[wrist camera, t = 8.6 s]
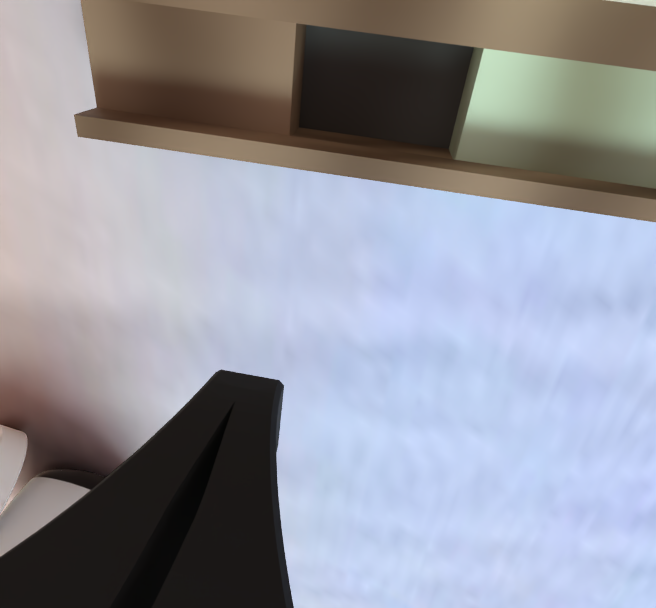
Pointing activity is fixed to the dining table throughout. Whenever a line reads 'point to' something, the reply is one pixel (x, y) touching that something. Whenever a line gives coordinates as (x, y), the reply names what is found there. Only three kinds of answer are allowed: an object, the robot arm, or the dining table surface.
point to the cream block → (638, 2)
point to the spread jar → (34, 491)
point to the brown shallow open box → (393, 91)
